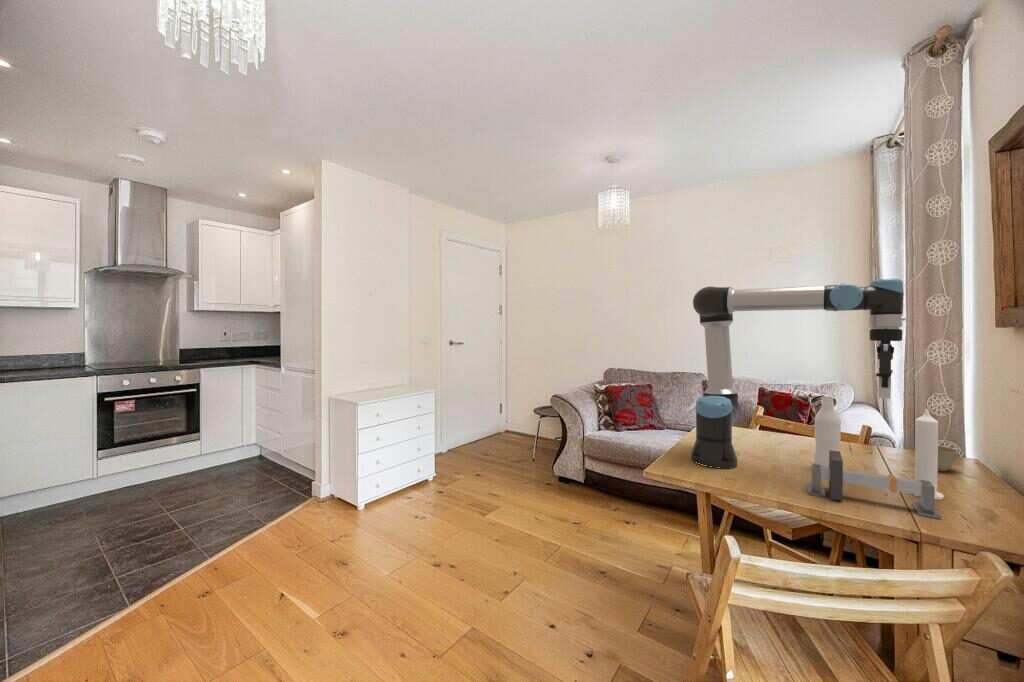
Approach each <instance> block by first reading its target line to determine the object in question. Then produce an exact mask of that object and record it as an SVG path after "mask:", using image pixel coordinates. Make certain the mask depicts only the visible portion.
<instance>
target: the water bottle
mask: <svg viewBox="0 0 1024 682" xmlns="http://www.w3.org/2000/svg"><path fill="white" fill-rule="evenodd" d="M820 404H821V407H820V408H819V410H818V411H817V413H816V414H815V416H814V433H813V437H814V440H815V449H814V454H813V462H814V463H813V464H819V465H820V466H826V467H829V450H831V451H839V452H840V443H841V441H842V437H841V425H842V422H841V418H840V416H839V414H838V413H837V411H836V410H835V407H834V405H835V403H834V397H833V396H822V397H821V403H820Z"/></svg>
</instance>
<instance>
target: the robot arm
mask: <svg viewBox="0 0 1024 682" xmlns="http://www.w3.org/2000/svg"><path fill="white" fill-rule="evenodd" d="M904 294H905V292H904V281H903V280H902V279H900V278H882V279H880V278H879V279H874V280H871V282H870V285H868V286H858V285H856V284H853V283H841V284H828V285H807V286H787V287H786V286H784V287H769V288H768V287H766V288H764V287H763V288H747V289H745V288H743V289H735V288H733V287H732V286H729V287H728V286H727V287H725V286H724V287H723V286H722V287H721V286H720V287H719V286H705V287H702V288H701V289H699V290H698V291H696V293H695V295H694V296H693V299H692V306H693V310H695V312H696V314H698V315H699V325H701V326H702V327H703V328H704V338H705V339H704V340H705V355H706V370H707V386H708V387H707V389H705V390H704V392H703V393H704V396H701V397H699V398H698V399H697V400H696V403H695V426H696V427H695V435H696V436H695V441H694V445H693V447H692V449H691V452H690V460H691V459H692V460H693V461H695V462H697V463H700V464H703V465H707V466H712V467H720V468H719V469H723V468H726V469H731V468H730V467H734V468H736V467H738V456H737V454H736V450H735V449H734V445H733V440H732V439H733V432H732V431H733V425H734V424H735V423H736V422H738V420H739V419H740V417H741V415H742V407H741V404H740V402H739V392H738V390H737V389H735V388H734V386H733V385H734V384H733V370H732V368H733V367H732V357H731V356H732V353H731V351H732V350H731V337H730V325H731V324H732V323H733V322H734V315H733V313H734V312H758V311H759V312H761V311H762V312H763V311H807V310H809V311H814V310H817V311H818V310H824V311H826V312H829V311H830V312H841V311H842V312H843V311H844V312H845V311H867V310H868V311H870V312H869V327H870V328H871V329H870V330H869V340H870V341H873V342H874V341H875V342H880V343H879V345H878V346H876V353H877V359H878V360H879V366H878V371H879V372H877V373H875V374H876V375H875V376H876V377H878V393H877V395H878V397H877V398H879V399H887V400H888V399H889V400H891V399H892V398H891V396H892V395H891V394H892V390H891V389H892V374H893V373H894V370H893V369H892V360H893V359H894V353H895V347H894V346H893V345H892V344H891V342H901V341H903V330H902V329H900V328H902V327H903V321H906V317H903V316H904V315H903V313H904ZM692 460H691V461H692ZM693 461H692V462H693ZM735 466H736V467H735ZM712 467H711V468H712Z"/></svg>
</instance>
